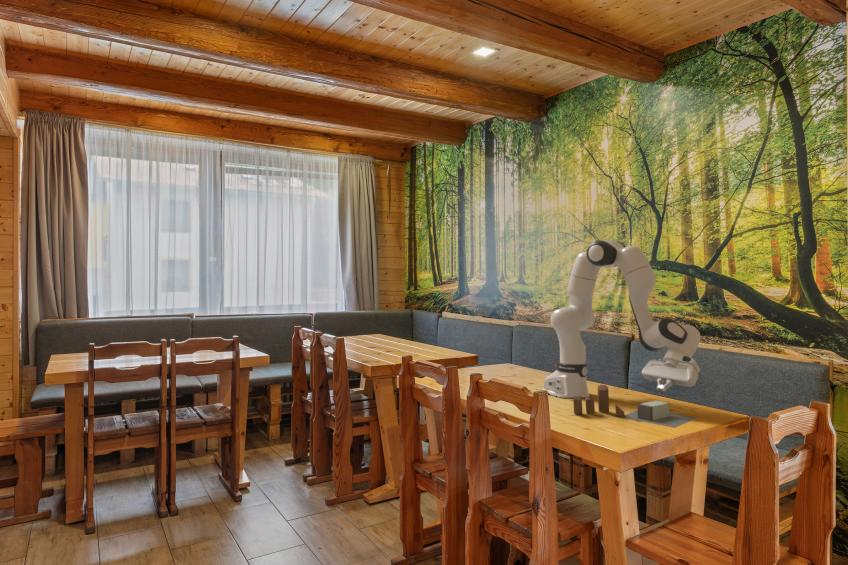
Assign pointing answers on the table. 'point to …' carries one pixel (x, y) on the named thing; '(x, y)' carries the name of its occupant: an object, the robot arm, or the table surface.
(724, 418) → the table surface
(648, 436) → the table surface
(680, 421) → the slate mat
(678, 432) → the table surface
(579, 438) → the table surface
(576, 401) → the wooden block set
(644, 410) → the sage block
